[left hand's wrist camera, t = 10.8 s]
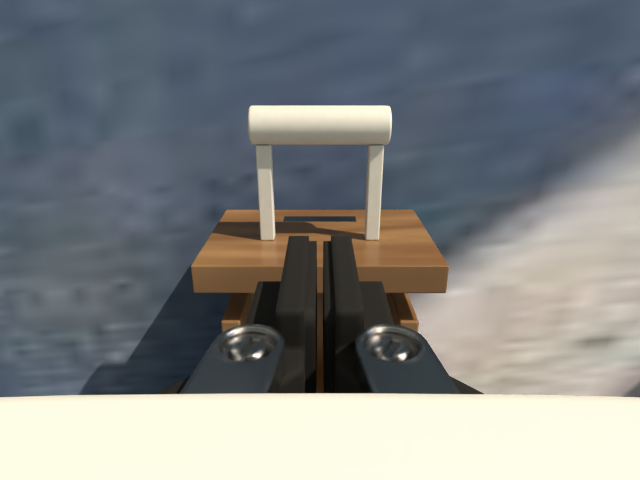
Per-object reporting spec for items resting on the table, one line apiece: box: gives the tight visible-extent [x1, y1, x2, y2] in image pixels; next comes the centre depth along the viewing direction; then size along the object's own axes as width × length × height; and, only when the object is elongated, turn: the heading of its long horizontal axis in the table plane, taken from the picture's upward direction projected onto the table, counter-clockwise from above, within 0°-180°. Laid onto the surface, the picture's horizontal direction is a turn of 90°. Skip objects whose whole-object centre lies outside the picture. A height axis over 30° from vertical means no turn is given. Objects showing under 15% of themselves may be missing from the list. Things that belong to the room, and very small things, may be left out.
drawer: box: [191, 106, 449, 393], centre depth 22 cm, size 21×10×7 cm, turn 0°
